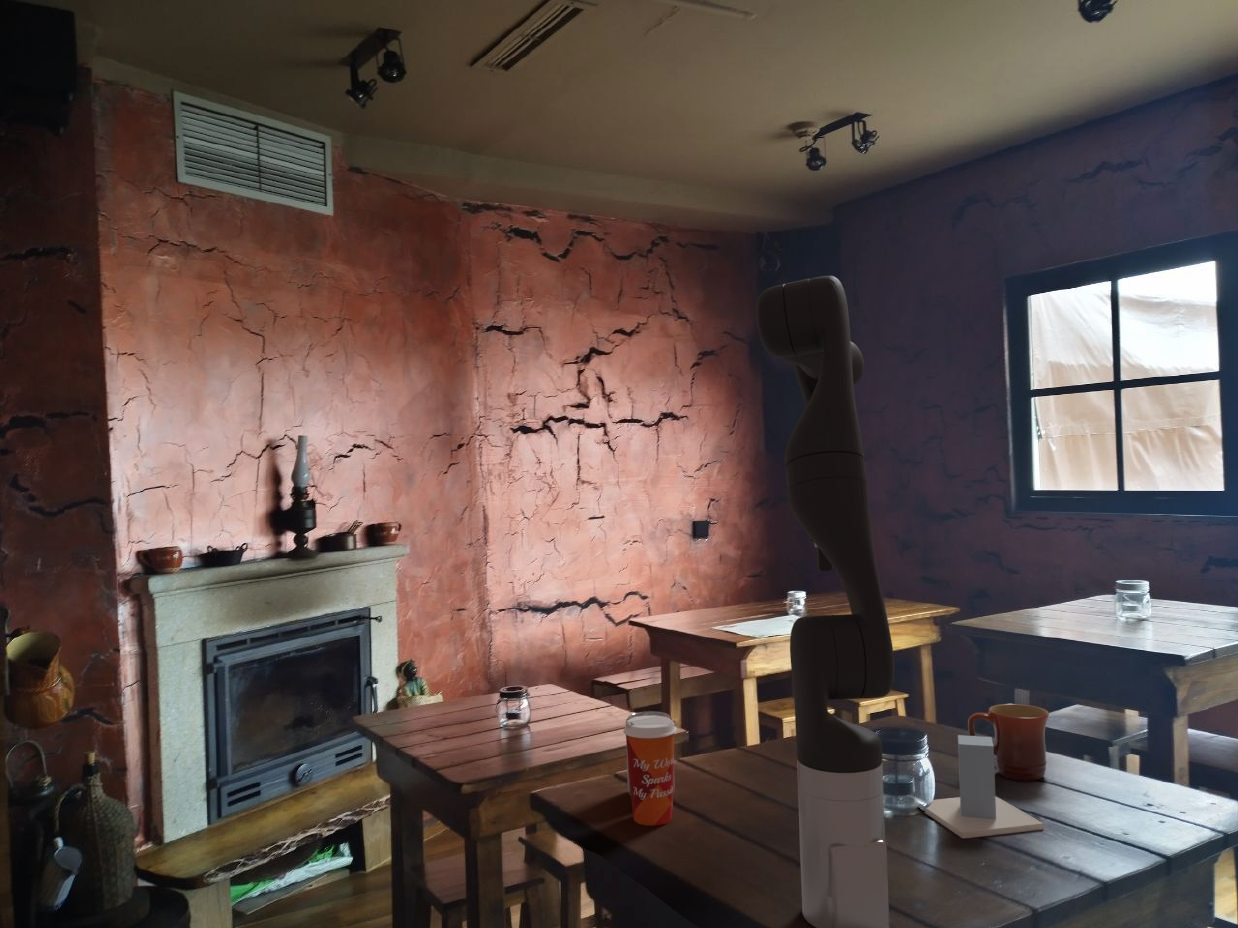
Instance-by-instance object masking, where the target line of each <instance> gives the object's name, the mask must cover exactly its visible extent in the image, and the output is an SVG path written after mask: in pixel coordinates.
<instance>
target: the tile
mask: <svg viewBox="0 0 1238 928" xmlns="http://www.w3.org/2000/svg"><path fill="white" fill-rule="evenodd" d="M932 800H933V802H932V804H931V805H930V806H929V807H928V808H926V811H925V812H924V813H925V814H926V815H927V816H929V817H931V818H932V819H933V820H935V821H936V822H938V823H940V824H941V825H942V826H943V827H945V828H947V829H948V830H950V832H953V833H954V834H956V835H957V836H958V837H960V838H961V839H963V840H964V839H970V838H972V839H973V838H979V837H980V838H981V837H988V836H989V837H990V836H998V835H1006V834H1007V835H1008V834H1014V833H1022V832H1023V833H1024V832H1025V833H1026V832H1032V831H1040V830H1041V831H1042V830H1044V829H1045V828H1044V823H1043V822H1042V821H1040V820H1038V819H1036V818H1035V817H1033V816H1031V815H1029V814H1028V813H1026V812H1024V811H1022V810H1021V809H1020V808H1017V807H1015V806H1013V805H1012V804H1010V802H1007V801H1005V800H1003V799H1001V798H1000V797H999V796H997V795H995V800H996V819H986V818H974V817H962V816H961V807H960V796H958V797H948V798H947V797H946V798H938V799H932Z"/></svg>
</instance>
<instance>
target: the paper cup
mask: <svg viewBox="0 0 1238 928" xmlns="http://www.w3.org/2000/svg"><path fill="white" fill-rule="evenodd" d="M672 720H673V719H672ZM672 720H671V719H670V718H667V717H663V716H639V717H634V718H631V719H629V720H628V721H627V722H626V721H625V727H624V729H623V734H624V735H625V740H626V741H625V742H626V743H627V745H626V756H627V755H628V770H629V780H630V790H631V795H630V798H631V808H632V809H631V810H632V817H633V821H634V823H636V824H638V825H641V826H647V827H649V826H650V827H656V826H662V825H663V826H665V825H666V824H668V823H670V822H671V821H672V818H673V803H674V798H673V797H674V793H673V772H674V773H675V758H674V757H675V733H676V732H677V730H678V728H677V727H676V726H675V724H676V723H675V722H674V721H673V722H672Z"/></svg>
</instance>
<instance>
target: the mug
mask: <svg viewBox="0 0 1238 928" xmlns="http://www.w3.org/2000/svg"><path fill="white" fill-rule="evenodd" d="M1049 716H1050V713H1049V711H1048V710H1046V709H1045V708H1042V707H1038V706H1035V705H1029V704H1018V703H1003V704H1002V703H1001V704H995V705H992V706H990V707H988V712H975V713H973V714H972V715H970V716H969V717H968V721H967V728H968V734H969V735H968V736H977V735H976V732H975V727H974V726H975V721H976V720H979V719H980V720H985V721H988V722H989V723H991V724H992V725H993V728H994V742H993V746H994V762H995V766H996V771H997V772H998V774H1000V775H1001V776H1002V777H1004V778H1007V779H1010V780H1013V781H1018V782H1034V781H1035V782H1036V781H1039V780H1040V779H1042V778H1043V777H1044V776H1045V774H1046V770H1047V753H1046V750H1047V749H1046V740H1045V739H1046V738H1045V732H1046V727H1047V722H1048V719H1049Z"/></svg>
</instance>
